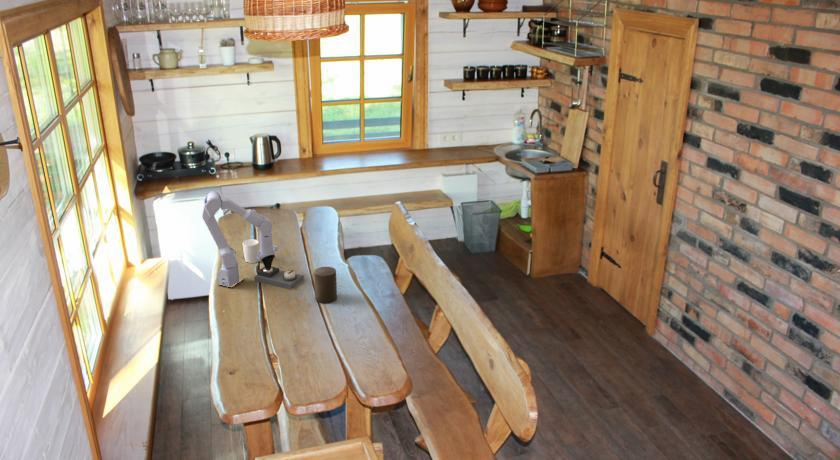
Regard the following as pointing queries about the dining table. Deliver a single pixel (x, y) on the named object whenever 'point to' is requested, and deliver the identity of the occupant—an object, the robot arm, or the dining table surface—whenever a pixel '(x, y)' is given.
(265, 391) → the dining table surface
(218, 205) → the robot arm
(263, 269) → the press knob
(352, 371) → the dining table surface
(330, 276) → the pillar candle
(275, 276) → the console
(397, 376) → the dining table surface
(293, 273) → the dial knob
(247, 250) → the white cup
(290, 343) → the dining table surface
